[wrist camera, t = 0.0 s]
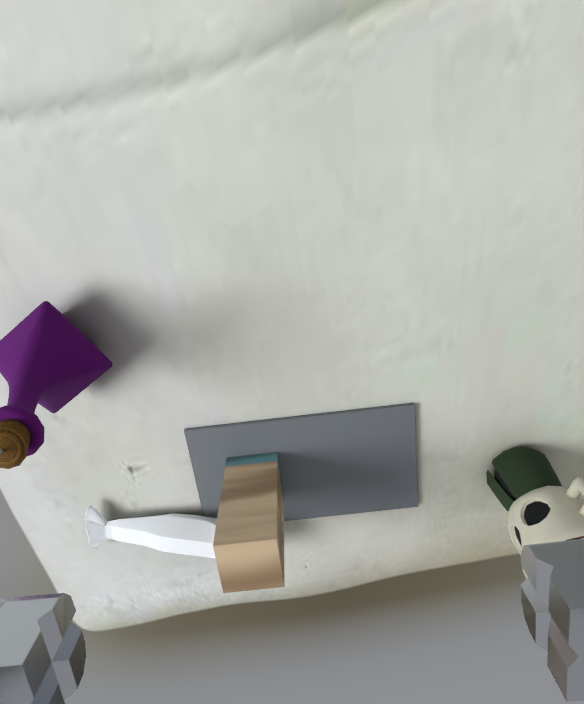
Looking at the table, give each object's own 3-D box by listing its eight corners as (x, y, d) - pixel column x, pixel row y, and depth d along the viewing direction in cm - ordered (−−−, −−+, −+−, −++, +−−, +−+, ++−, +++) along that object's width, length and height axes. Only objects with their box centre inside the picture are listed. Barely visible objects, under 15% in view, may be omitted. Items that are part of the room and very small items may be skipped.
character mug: (506, 415, 54) (570, 503, 42) (572, 432, 55) (653, 523, 43) (461, 503, 58) (508, 606, 46) (523, 518, 59) (585, 622, 47)
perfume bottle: (123, 349, 50) (46, 468, 34) (67, 396, 52) (-33, 531, 35) (60, 287, 48) (-57, 383, 31) (3, 339, 49) (-136, 454, 33)
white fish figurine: (266, 548, 58) (260, 577, 55) (98, 533, 59) (82, 561, 56) (266, 506, 56) (260, 534, 52) (92, 492, 57) (75, 518, 54)
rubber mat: (184, 428, 54) (184, 430, 53) (413, 402, 53) (414, 404, 52) (207, 526, 58) (206, 529, 58) (417, 503, 58) (418, 506, 57)
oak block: (226, 457, 54) (212, 546, 43) (277, 452, 54) (276, 539, 43) (234, 498, 56) (223, 593, 45) (283, 493, 56) (284, 586, 45)
